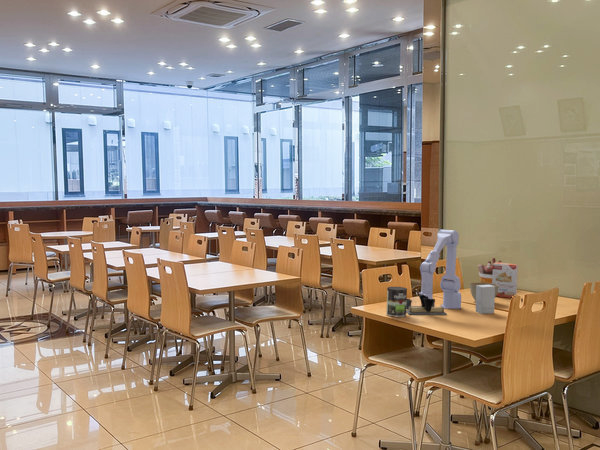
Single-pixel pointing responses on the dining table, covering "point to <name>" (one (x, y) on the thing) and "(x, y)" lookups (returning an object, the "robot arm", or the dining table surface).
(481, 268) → the bucket of meat
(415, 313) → the mat
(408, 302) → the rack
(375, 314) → the dining table surface
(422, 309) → the rail
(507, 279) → the cracker box
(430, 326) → the dining table surface
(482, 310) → the skincare box
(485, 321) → the dining table surface
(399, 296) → the coffee can
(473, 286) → the planter bowl
